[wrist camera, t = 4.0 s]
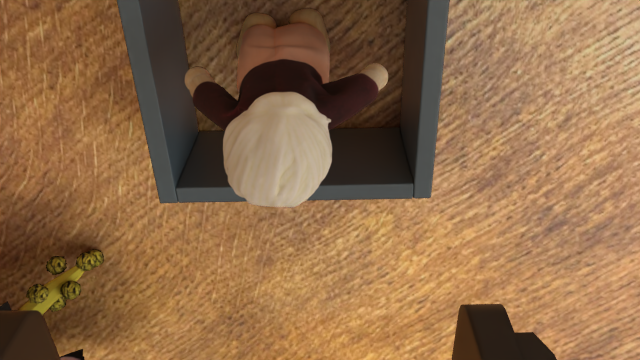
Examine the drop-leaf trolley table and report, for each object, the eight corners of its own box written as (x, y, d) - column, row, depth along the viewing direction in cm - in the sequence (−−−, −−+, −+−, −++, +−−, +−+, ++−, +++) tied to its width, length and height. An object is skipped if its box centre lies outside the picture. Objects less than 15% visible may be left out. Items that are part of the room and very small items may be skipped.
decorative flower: (-302, 350, 24) (-27, 433, 20) (-102, 155, 31) (130, 186, 27) (-77, 454, 35) (132, 522, 30) (33, 291, 42) (214, 328, 38)
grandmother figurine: (230, 94, 28) (171, 258, 17) (203, 19, 26) (119, 152, 15) (381, 59, 27) (420, 211, 16) (366, -22, 25) (398, 91, 14)
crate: (430, -93, 23) (457, -74, 19) (414, 140, 29) (431, 198, 25) (146, -85, 24) (102, -64, 19) (185, 144, 30) (159, 203, 25)
